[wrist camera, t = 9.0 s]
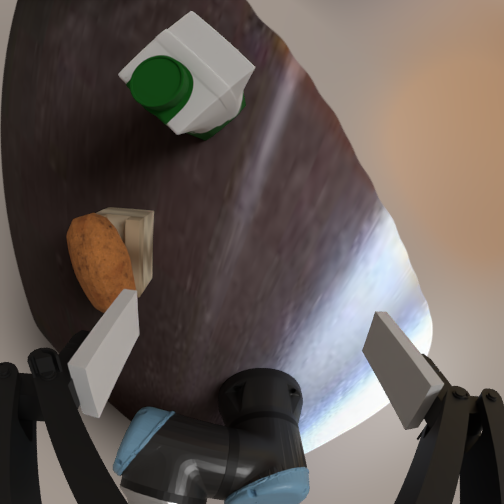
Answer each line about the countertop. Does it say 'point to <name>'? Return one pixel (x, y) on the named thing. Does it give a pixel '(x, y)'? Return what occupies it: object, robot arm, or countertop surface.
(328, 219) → the countertop surface
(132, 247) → the cradle
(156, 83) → the milk carton
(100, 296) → the potato
